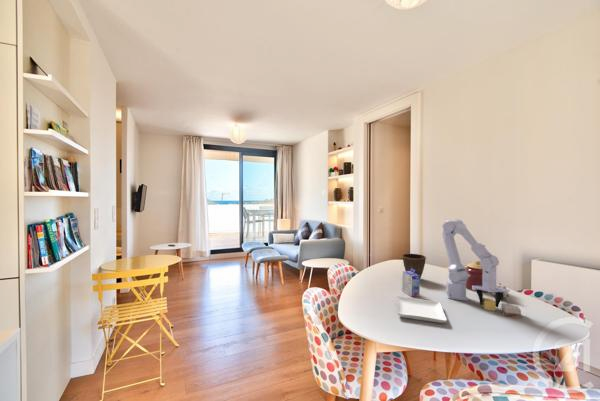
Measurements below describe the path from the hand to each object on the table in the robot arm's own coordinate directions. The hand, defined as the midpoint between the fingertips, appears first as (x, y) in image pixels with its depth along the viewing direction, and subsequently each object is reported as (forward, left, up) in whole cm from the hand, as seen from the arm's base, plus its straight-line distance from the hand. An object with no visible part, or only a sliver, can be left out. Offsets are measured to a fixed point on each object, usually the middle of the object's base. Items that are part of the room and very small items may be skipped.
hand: (488, 305), depth 133 cm
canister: (+1, +30, -2) cm, 30 cm away
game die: (+9, +17, -2) cm, 19 cm away
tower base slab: (+8, -4, -2) cm, 9 cm away
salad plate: (-33, -19, -2) cm, 38 cm away
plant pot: (-35, +35, -2) cm, 50 cm away
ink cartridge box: (-37, +6, -2) cm, 38 cm away
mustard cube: (0, 0, -2) cm, 2 cm away
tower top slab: (+8, -4, 0) cm, 9 cm away
